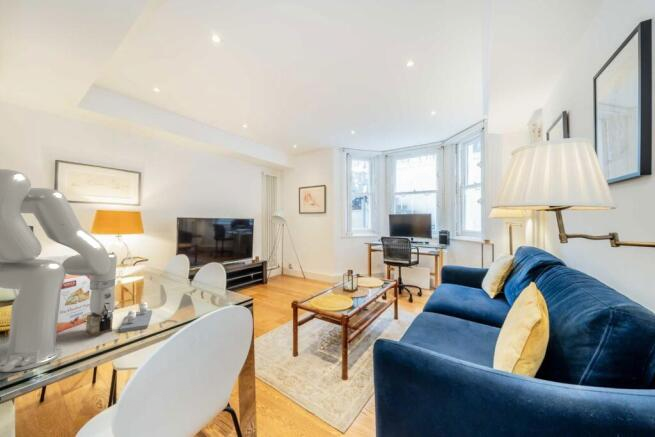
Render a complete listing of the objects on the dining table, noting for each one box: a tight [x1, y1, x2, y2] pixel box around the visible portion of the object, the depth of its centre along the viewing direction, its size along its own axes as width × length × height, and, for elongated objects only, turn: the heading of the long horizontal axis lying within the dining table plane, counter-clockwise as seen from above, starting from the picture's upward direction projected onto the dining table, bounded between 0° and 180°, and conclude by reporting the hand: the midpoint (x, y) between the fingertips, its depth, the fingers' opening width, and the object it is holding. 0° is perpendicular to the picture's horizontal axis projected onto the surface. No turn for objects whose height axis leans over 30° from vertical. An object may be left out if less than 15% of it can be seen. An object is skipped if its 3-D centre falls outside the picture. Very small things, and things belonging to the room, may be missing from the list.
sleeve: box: [85, 311, 114, 338], centre depth 96 cm, size 6×6×7 cm
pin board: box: [119, 301, 153, 334], centre depth 107 cm, size 20×9×7 cm, turn 32°
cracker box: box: [56, 275, 92, 334], centre depth 101 cm, size 14×6×21 cm, turn 179°
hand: (99, 327), depth 96 cm, fingers open, 8 cm apart
